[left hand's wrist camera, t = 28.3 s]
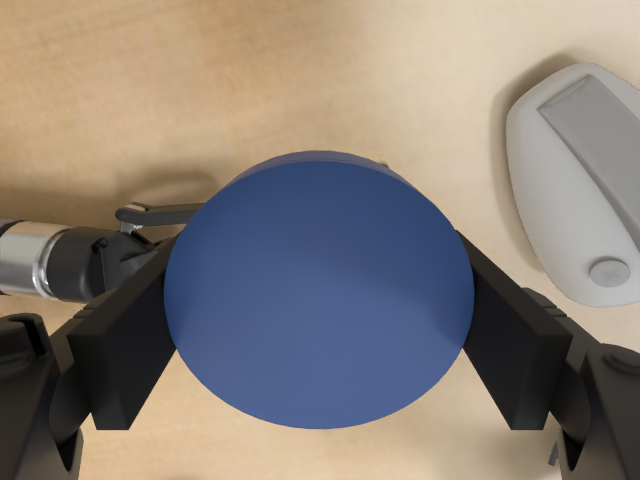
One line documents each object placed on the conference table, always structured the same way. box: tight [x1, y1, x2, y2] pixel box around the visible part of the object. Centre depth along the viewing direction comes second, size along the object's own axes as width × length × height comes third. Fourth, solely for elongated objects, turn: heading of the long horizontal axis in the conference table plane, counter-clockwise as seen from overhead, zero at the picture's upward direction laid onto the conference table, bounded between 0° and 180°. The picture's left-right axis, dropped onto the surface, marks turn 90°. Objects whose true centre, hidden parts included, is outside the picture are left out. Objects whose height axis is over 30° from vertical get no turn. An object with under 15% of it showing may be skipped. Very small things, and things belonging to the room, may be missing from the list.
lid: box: [163, 151, 475, 429], centre depth 11 cm, size 9×9×2 cm
